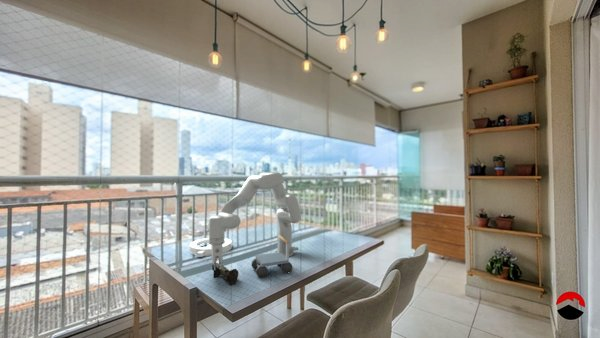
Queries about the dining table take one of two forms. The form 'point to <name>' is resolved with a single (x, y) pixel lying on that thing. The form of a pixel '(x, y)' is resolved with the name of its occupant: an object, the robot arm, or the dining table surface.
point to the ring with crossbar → (208, 247)
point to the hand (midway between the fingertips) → (216, 273)
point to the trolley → (272, 261)
